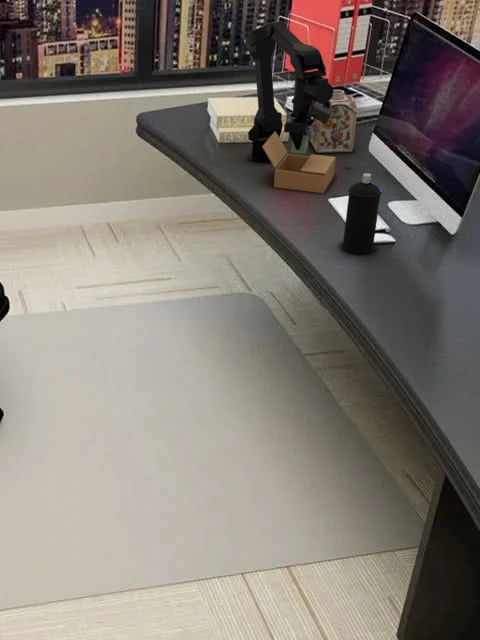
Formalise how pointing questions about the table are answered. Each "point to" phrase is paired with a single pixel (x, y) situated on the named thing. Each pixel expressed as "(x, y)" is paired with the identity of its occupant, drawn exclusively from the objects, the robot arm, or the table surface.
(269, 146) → the flap
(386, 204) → the table surface
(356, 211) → the aerosol can
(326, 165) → the carton
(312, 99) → the robot arm
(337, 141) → the decorative jar
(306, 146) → the block
